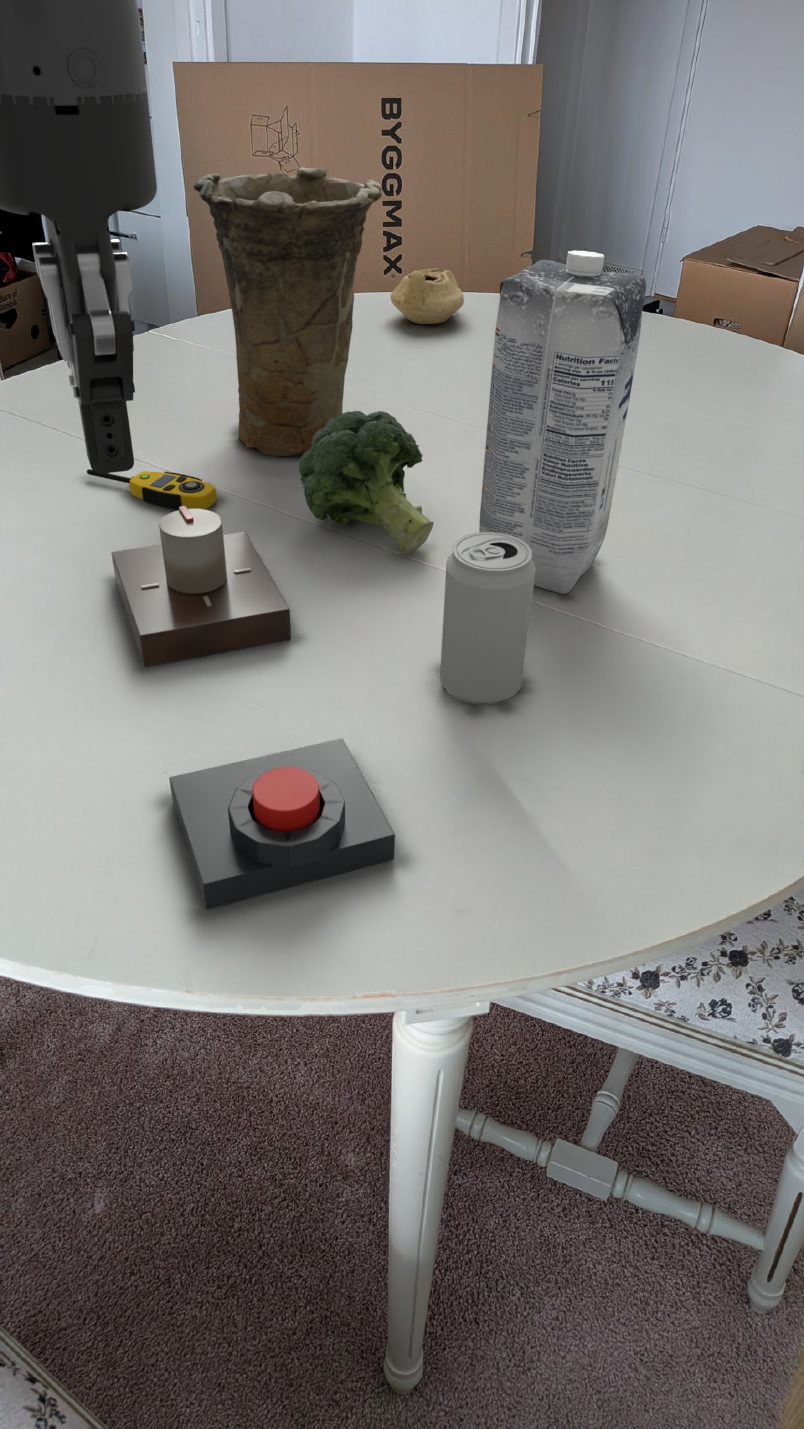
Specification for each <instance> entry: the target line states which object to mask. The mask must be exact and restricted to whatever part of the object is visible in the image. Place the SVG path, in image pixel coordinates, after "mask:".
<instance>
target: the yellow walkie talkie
mask: <svg viewBox="0 0 804 1429" xmlns="http://www.w3.org/2000/svg"><path fill="white" fill-rule="evenodd" d="M86 474H87V475H89V476H94V477H98V478H103V479H107V480H112V481H116V482H120V483H124V484H129V488H130V489H129V490H130V491H129V492H130V494H131V495H132V496H134V497H136V498H139V499H141V500H143V502H145V503H148V504H151V505H154V506H156V507H157V506H158V507H161V508H166V509H172V510H179V507H181V506H186V508H187V509H204V510H208V509H209V508H210V507H212V506H213V505H214V504H215V503H216V501H217V488H216V486H215V485H214V484H211V483H208V482H206V481H203V479H201V478H199V477H195V476H192V475H187V474H184V473H178V472H171V471H164V472H161V471H150V470H144V471H141V472H138V473H137V474H136V475H134V476H131V477H127V476H123V475H118V474H114V473H104V474H98V473H96V472H94V471H93V470H92V468H89V469H87V470H86Z"/></svg>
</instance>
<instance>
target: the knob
mask: <svg viewBox="0 0 804 1429" xmlns="http://www.w3.org/2000/svg"><path fill="white" fill-rule="evenodd" d="M223 528H224V527H223V519H222V517H221V516H220V515H219V514H218V513H217V512H214V511H212V510H208V509H205V510H204V509H187V508H186V506H181V507H179V509H177V510H175V511H172V512H170V513H167V514H166V515H164V516H163V517H161V519H160V521H159V522H158V529H159V536H160V545H161V544H162V551H163V559H164V566H165V574H166V581H167V584H168V585H169V586H170V587H171V588H172V589H174V590H176V591H178V592H182V593H188V594H199V593H206V592H210V591H213V590H215V589H217V588H219V587H221V586H222V585H223V584H224V583H225V581H226V579H227V570H226V559H225V548H224V537H223V535H224V529H223Z"/></svg>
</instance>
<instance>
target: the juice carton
mask: <svg viewBox="0 0 804 1429" xmlns="http://www.w3.org/2000/svg"><path fill="white" fill-rule="evenodd" d="M604 260H605V255H604V254H603V253H598V252H596V251H587V250H570V251H569V250H568V251H567V255H566V262H565V263H566V264H565V263H562V262H558V261H554V260H549V259H541V260H538V261H536V262H535V263H534V264H532V265H529V266H528V267H526V268H524V269H522V270H520V271H519V272H517V273H515V274H513V275H511V276H508V277H506V278H505V279H503V280H502V281H501V282H500V285H499V304H498V309H497V314H496V315H497V316H496V324H495V330H494V340H493V353H492V362H491V376H490V386H489V387H490V389H489V399H488V401H489V402H488V411H487V424H486V436H485V447H484V448H485V450H484V459H483V460H484V462H483V470H482V471H483V473H482V485H481V496H480V499H481V500H480V510H479V524H478V525H479V527H478V533H479V532H497V533H504V534H508V535H511V536H514V537H517V538H519V539H521V540H523V541H524V542H525V543H527V544H528V545H529V547H530V548H531V550H532V558H531V559H532V561H533V562H534V565H535V578H534V586H535V587H538V588H541V589H543V590H548V591H551V592H554V593H558V594H561V595H562V594H563V595H567V594H569V592H570V591H571V590H572V588H574V586H576V583H577V582H578V581H579V579H580V578H581V577H582V576H583V575H584V574H585V573H586V572H587V570H589V569H590V568H591V566H592V565H593V563H594V562H595V560H596V558H597V556H598V554H599V552H600V550H601V547H602V545H603V543H604V540H605V538H606V534H607V530H608V526H609V525H608V524H609V522H610V513H611V509H612V504H613V503H612V502H613V497H614V493H615V492H614V491H615V487H616V480H617V474H618V470H619V463H620V457H621V451H622V445H623V441H624V440H623V439H624V433H625V428H626V423H627V418H628V417H627V416H628V410H629V403H630V398H631V393H632V386H633V381H634V376H635V375H634V374H635V368H636V363H637V356H638V351H639V346H640V339H641V338H640V337H641V332H642V331H641V330H642V321H643V320H642V319H643V309H644V308H643V307H644V302H645V298H646V290H647V282H646V279H645V277H644V276H643V275H640V274H636V273H630V272H629V273H628V272H612V271H611V272H610V271H609V272H608V271H603V268H604V267H603V266H604Z"/></svg>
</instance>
